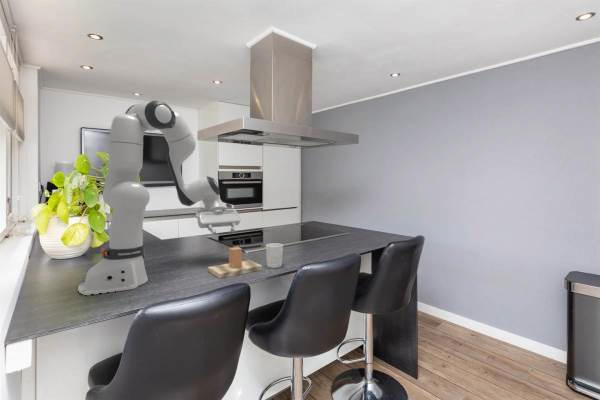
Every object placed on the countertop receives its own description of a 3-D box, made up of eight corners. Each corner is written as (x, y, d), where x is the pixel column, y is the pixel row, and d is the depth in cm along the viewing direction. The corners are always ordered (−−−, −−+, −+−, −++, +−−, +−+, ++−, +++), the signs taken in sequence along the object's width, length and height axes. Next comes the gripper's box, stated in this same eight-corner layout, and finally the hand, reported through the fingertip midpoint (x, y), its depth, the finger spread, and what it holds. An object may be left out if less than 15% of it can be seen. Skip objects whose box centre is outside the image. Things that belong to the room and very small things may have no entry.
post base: (219, 278, 121) (219, 256, 121) (208, 271, 131) (207, 251, 130) (262, 270, 134) (262, 250, 133) (248, 264, 143) (248, 245, 143)
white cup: (278, 269, 136) (279, 247, 135) (263, 267, 138) (263, 245, 137) (285, 264, 143) (285, 243, 142) (270, 263, 146) (270, 242, 145)
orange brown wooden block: (233, 268, 129) (233, 249, 129) (228, 266, 133) (228, 248, 132) (241, 266, 132) (241, 248, 131) (237, 264, 135) (237, 246, 135)
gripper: (195, 206, 139) (204, 230, 132) (236, 204, 151) (245, 226, 144) (192, 215, 142) (200, 239, 135) (232, 212, 155) (241, 234, 148)
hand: (224, 232), depth 140 cm, fingers open, 8 cm apart
